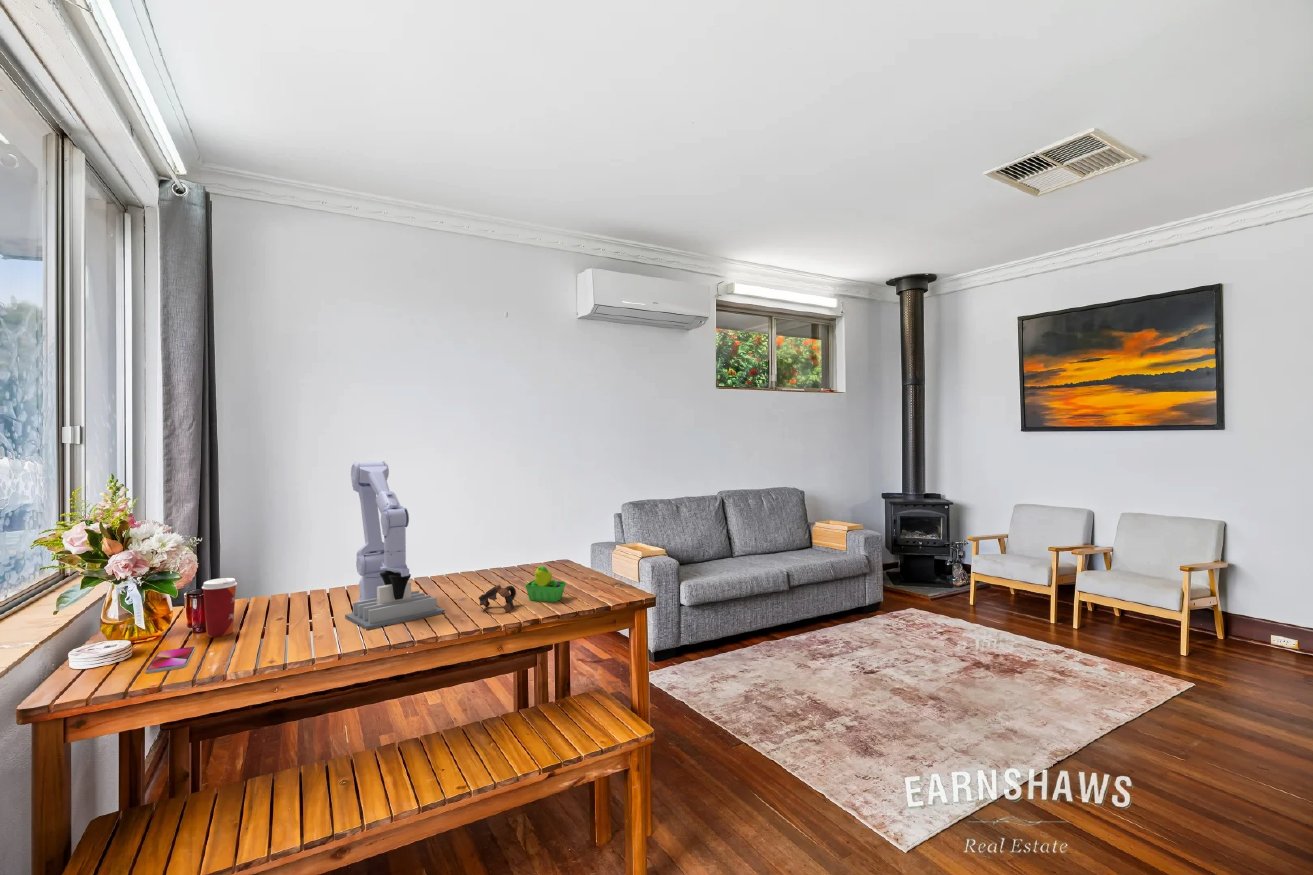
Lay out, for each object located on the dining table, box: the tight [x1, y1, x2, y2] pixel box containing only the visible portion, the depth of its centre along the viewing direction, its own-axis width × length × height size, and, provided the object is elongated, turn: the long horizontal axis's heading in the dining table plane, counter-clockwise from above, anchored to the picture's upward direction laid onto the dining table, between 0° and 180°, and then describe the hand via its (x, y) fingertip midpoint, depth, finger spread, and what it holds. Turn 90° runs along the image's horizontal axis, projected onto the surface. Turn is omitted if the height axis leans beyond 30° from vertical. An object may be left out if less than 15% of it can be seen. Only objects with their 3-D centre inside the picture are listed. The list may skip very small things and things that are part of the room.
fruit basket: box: [524, 565, 567, 603], centre depth 195 cm, size 11×9×11 cm
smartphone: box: [144, 646, 196, 674], centre depth 144 cm, size 7×1×15 cm
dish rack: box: [344, 590, 446, 631], centre depth 179 cm, size 16×22×4 cm
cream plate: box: [377, 580, 412, 605], centre depth 178 cm, size 2×9×8 cm, turn 135°
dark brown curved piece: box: [478, 584, 517, 613], centre depth 186 cm, size 12×10×8 cm
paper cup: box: [201, 577, 238, 638], centre depth 163 cm, size 8×8×14 cm
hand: (395, 597), depth 179 cm, fingers open, 4 cm apart
